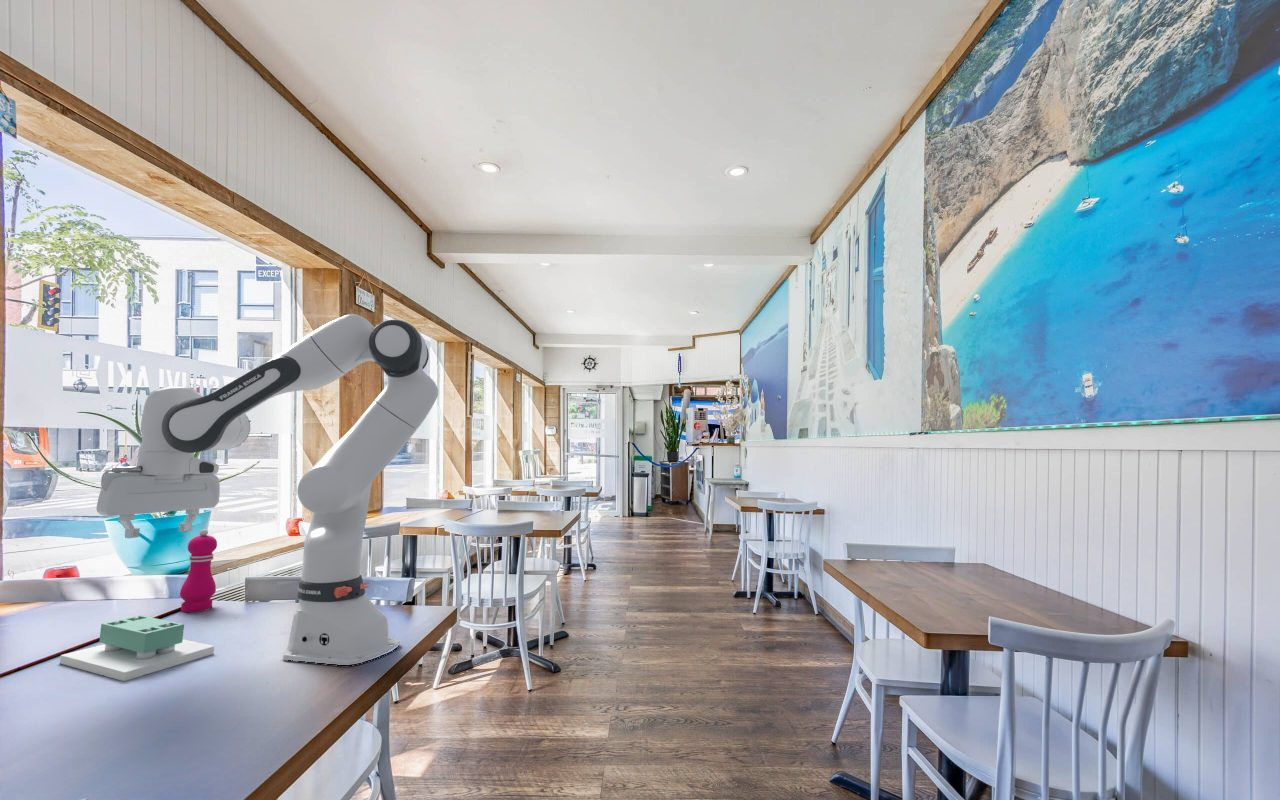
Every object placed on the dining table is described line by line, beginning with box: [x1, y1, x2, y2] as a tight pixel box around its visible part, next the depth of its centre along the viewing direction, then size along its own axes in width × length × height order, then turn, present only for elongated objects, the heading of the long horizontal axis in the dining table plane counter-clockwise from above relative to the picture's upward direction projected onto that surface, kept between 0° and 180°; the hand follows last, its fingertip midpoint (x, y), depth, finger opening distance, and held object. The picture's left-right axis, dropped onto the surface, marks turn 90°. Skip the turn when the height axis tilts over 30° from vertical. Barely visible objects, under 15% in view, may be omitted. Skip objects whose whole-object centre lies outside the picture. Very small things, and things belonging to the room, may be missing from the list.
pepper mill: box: [179, 528, 218, 613], centre depth 145 cm, size 7×7×20 cm
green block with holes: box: [98, 614, 185, 653], centre depth 111 cm, size 14×6×4 cm, turn 69°
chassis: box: [59, 616, 215, 682], centre depth 111 cm, size 20×15×7 cm
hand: (159, 534), depth 114 cm, fingers open, 8 cm apart
